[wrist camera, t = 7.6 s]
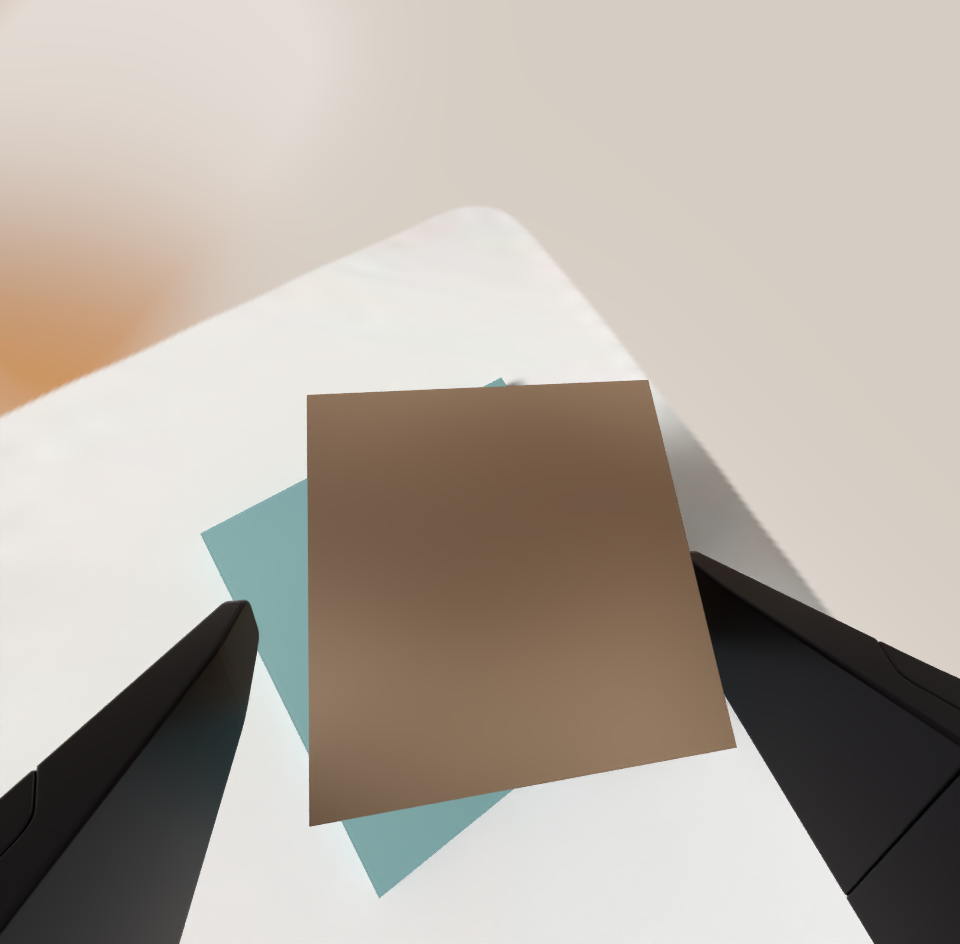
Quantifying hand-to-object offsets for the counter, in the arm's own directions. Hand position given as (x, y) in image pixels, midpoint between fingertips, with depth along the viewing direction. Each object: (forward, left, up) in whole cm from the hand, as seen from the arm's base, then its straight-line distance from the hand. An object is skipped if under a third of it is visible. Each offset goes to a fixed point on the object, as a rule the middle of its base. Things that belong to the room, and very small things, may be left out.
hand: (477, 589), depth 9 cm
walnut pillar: (0, 0, -9) cm, 9 cm away
